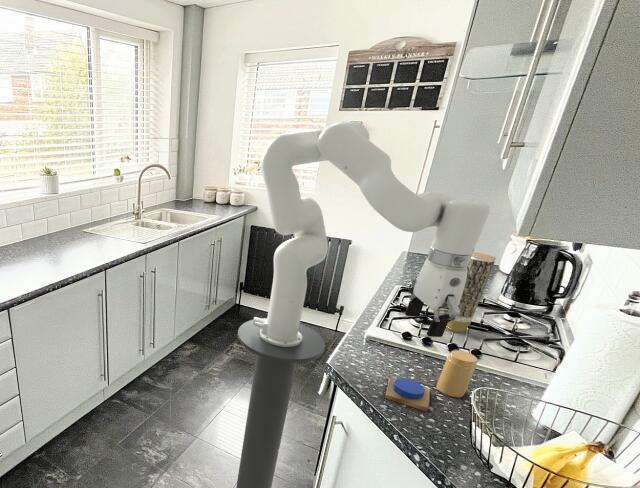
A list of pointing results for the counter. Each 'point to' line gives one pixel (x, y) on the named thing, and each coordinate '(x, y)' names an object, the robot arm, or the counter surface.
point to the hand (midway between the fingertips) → (422, 325)
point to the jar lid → (408, 388)
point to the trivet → (418, 403)
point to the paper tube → (472, 290)
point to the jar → (457, 373)
